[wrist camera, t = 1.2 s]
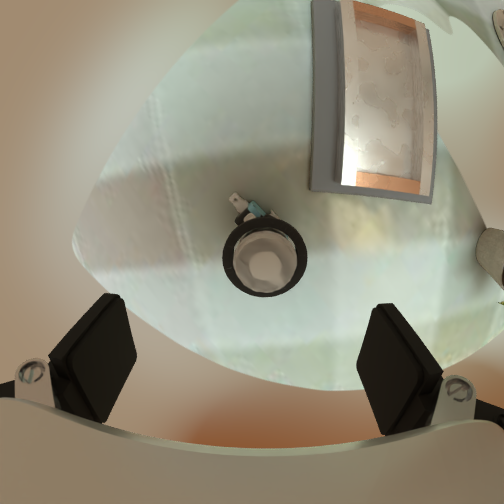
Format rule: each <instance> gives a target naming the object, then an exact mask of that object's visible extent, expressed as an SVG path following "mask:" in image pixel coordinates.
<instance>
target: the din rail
mask: <svg viewBox="0 0 504 504" xmlns="http://www.w3.org/2000/svg"><path fill="white" fill-rule="evenodd" d="M334 9H335V22H336V37H337V60H338V126H337V151H336V169H335V182H336V183H339V184H341V185H350V186H359V187H368V188H376V189H384V190H392V191H399V192H406V193H412V194H418V195H425V196H429V193H430V184H431V174H432V161H433V142H434V102H433V83H432V71H431V62H430V54H429V47H428V40H427V34H426V29H425V24H424V23H421V22H419V21H416V20H414V19H411V18H408V17H406V16H403V15H400V14H398V13H395V12H392V11H388V10H386V9H383V8H379V7H376V6H372V5H369V4H365V3H361V2H357V1H353V0H338V2H337V4H336V6H335V7H334Z"/></svg>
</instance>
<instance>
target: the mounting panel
mask: <svg viewBox="0 0 504 504" xmlns="http://www.w3.org/2000/svg"><path fill="white" fill-rule="evenodd" d="M337 2H338V1H333V0H312V1H311V14H312V43H313V112H312V143H311V165H310V182H309V190H310V191H316V192H329V193H341V194H351V195H362V196H371V197H380V198H388V199H396V200H404V201H411V202H418V203H425V204H432V196H433V188H434V178H435V167H436V151H437V96H436V80H435V69H434V60H433V53H432V46H431V40H430V34H429V30H428V29H426V28H425V29H426V34H427V40H428V47H429V54H430V62H431V71H432V83H433V102H434V142H433V161H432V174H431V184H430V193H429V196H425V195H418V194H412V193H406V192H399V191H392V190H384V189H376V188H368V187H359V186H350V185H341V184H339V183H336V182H335V169H336V151H337V126H338V60H337V37H336V22H335V9H334V7H335V6H336V4H337Z"/></svg>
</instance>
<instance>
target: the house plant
mask: <svg viewBox="0 0 504 504" xmlns="http://www.w3.org/2000/svg"><path fill="white" fill-rule="evenodd" d="M476 258H477V261H478V262H479V264H480V265H481V266H482V267H483V268H484V269H485V270H486V271H487V272H488V273H489V274H490V275H491V276H492V278H493V279H494V280H495V281H496V282H497V283H498V284H499V285H500V287H501V288H502V289H503V290H504V231H503V230H499V229H494V228H488V229H486V230H485V231H484V232H483V233H482V234H481V236H480V238H479V240H478V243H477V247H476ZM498 303H499V302H498ZM500 304H502V305H504V301H503V302H501V303H500Z"/></svg>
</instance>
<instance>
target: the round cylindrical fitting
mask: <svg viewBox="0 0 504 504" xmlns="http://www.w3.org/2000/svg"><path fill="white" fill-rule="evenodd" d="M234 198H236V199H237V200H238V201H235V200H234ZM229 201H230V202H231V203H232V204H233V205H234V206H235V207H236V210H237V211H238V212H239V215H238V216H237V217H236V219H235V223H236V224H237V225H238V227H236V228H235V229H234V230H233V231H232V233H231V234H230V235H229V237H228V239H227V241H226V243H225V246H224V249H223V256H222V259H223V267H224V270H225V273H226V275H227V277H228V278H229V280H230V281H231V282H232V283H233V284H234V285H235V286H236V287H237V288H238V289H240V290H241V291H243V292H245V293H247V294H249V295H252V296H257V297H273V296H277V295H280V294H283V293H285V292H287V291H288V290H290V289H291V288H293V287H294V286H295V285H296V284H297V283H298V282H299V280H300V279H301V278H302V276H303V274H304V272H305V269H306V266H307V249H306V246H305V243H304V241H303V239H302V237H301V235H300V234H299V233H298V231H297V230H296V229H295V228H294V227H292V226H291V225H290V224H288V223H287V222H285V221H283V220H280V219H279V217H278V216H277V215H276V214H275V213H274V211H273V210H271V213H270V214H266V213H265V212H264V211H263V210H262V209H261V208H260V207H259V206H258V205H257V204H256V203H255V202H254V201H252V202H251V203H250V204H249V203H248V202H247V201H246V200H243V199H242V198H241V197H240V196H239V195H238V194H237V193H236V192H235V193H234V194H233V195H232V196H230V198H229ZM288 236H289V238H290V239H291V240H292V241H293V242H294V244H295V249H294V247H293V246H292V244H291V242H290V241H289V240H288ZM241 237H242V238H241ZM240 238H241V240H240V243H239V245H238V246H237V248H236V249H235V252H234V246H235V244H236V243H237V241H238V240H239V239H240Z"/></svg>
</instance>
